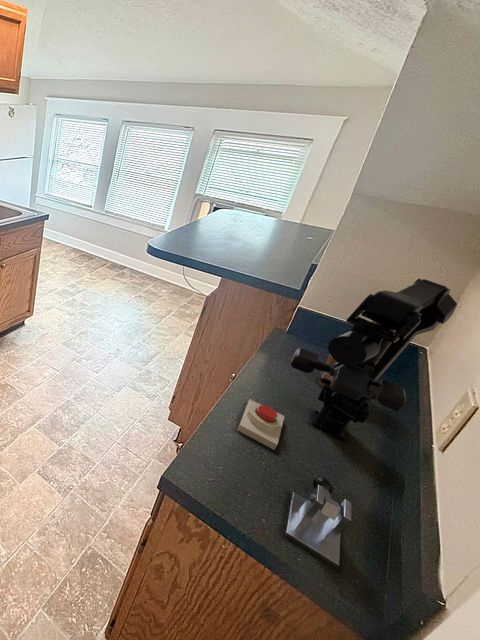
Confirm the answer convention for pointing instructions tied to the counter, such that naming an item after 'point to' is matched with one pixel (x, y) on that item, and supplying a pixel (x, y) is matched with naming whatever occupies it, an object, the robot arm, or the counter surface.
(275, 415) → the stop button
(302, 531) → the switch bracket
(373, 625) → the counter surface
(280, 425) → the stop block
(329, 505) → the switch lever
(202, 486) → the counter surface
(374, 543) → the counter surface
